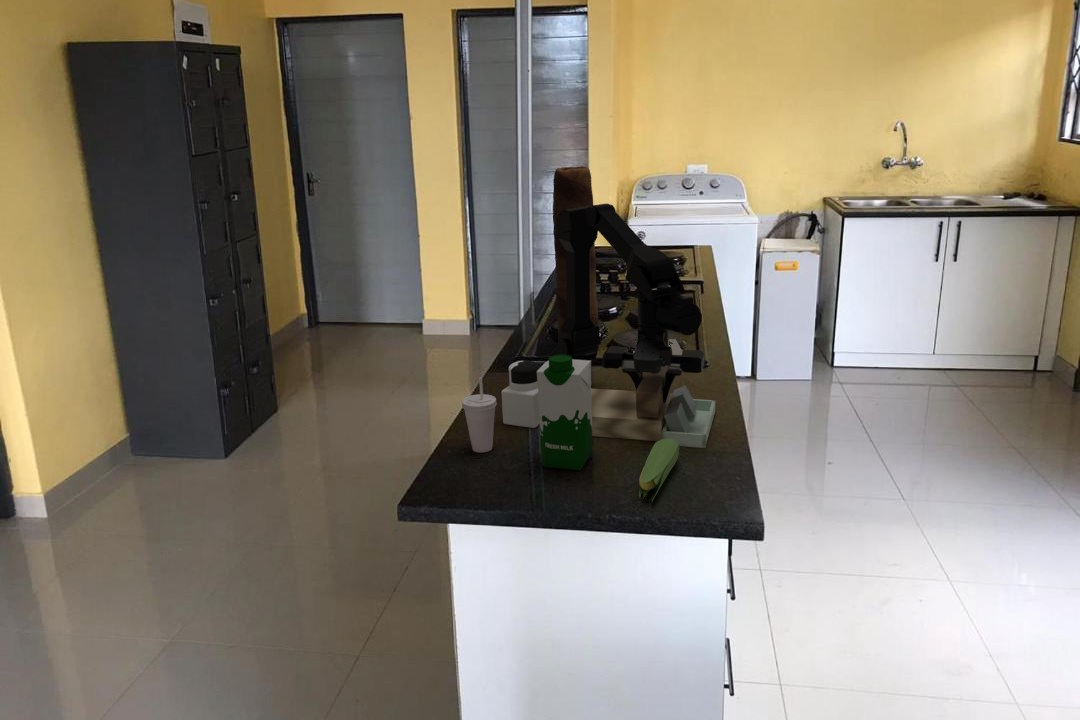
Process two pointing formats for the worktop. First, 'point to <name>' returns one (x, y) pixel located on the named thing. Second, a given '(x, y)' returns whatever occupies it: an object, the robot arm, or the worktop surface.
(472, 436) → the smoothie
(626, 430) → the board
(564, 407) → the milk carton
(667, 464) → the edible corn
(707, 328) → the worktop surface
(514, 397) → the medicine bottle
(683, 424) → the tile
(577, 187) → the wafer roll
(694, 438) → the tray
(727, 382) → the worktop surface
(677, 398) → the tile
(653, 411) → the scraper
